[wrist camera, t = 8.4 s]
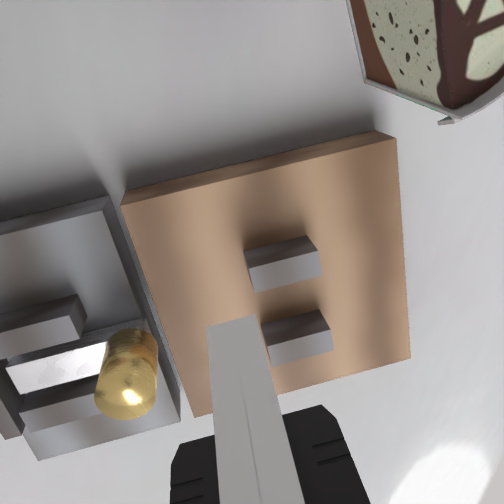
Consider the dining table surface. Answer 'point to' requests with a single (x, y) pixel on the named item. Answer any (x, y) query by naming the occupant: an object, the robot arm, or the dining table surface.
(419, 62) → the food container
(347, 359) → the door board
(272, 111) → the dining table surface
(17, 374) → the bolt
